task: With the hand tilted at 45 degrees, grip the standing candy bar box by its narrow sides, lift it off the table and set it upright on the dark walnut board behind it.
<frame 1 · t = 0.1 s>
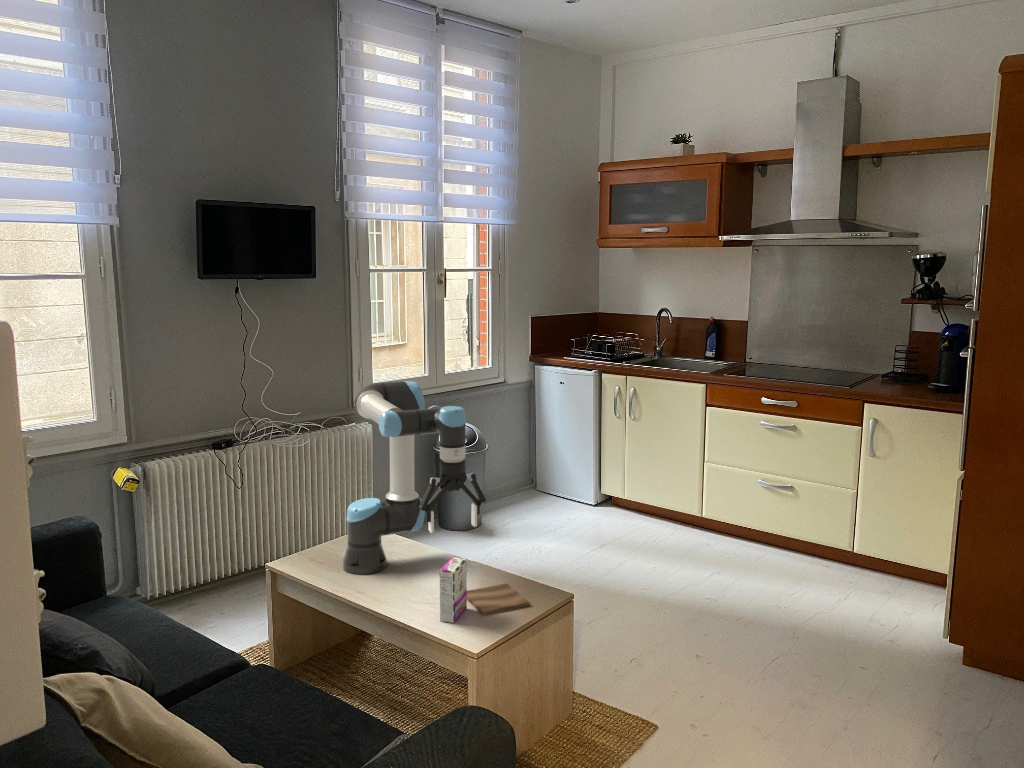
hand: (452, 528, 234), 28 cm above the table, tool pointing down, fingers open, 13 cm apart
walnut board: (495, 600, 250), on the table
candy bar box: (453, 615, 239), on the table
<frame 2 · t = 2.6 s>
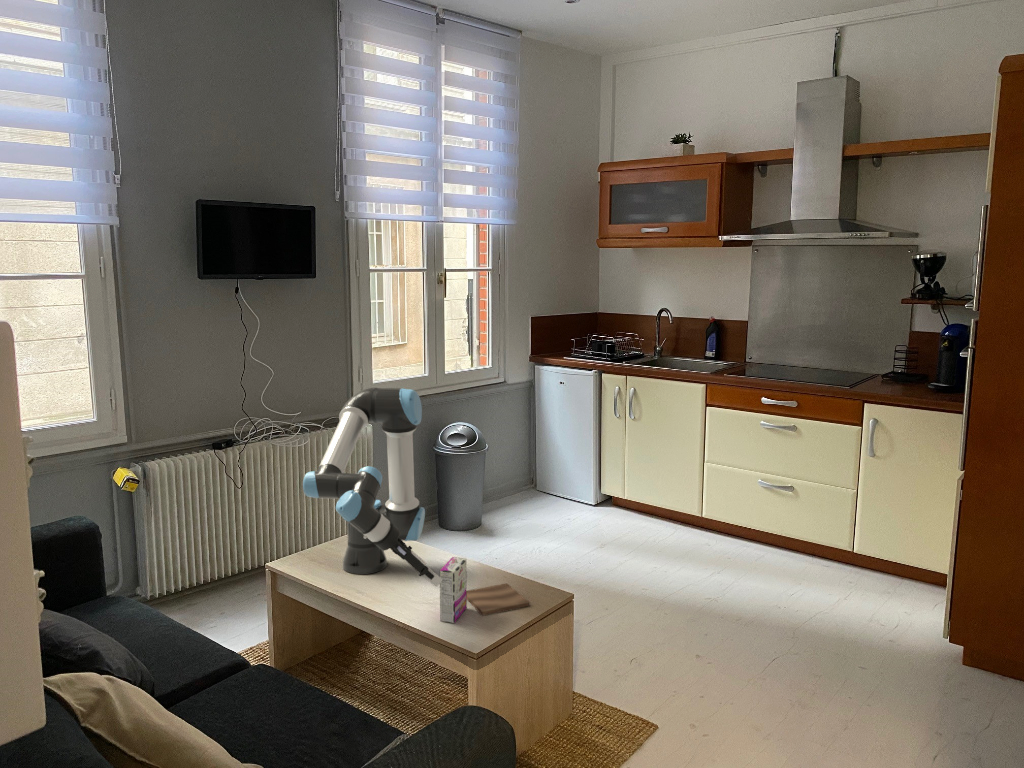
hand: (431, 574, 233), 15 cm above the table, tool tilted 45°, fingers open, 13 cm apart
nothing on the table moved.
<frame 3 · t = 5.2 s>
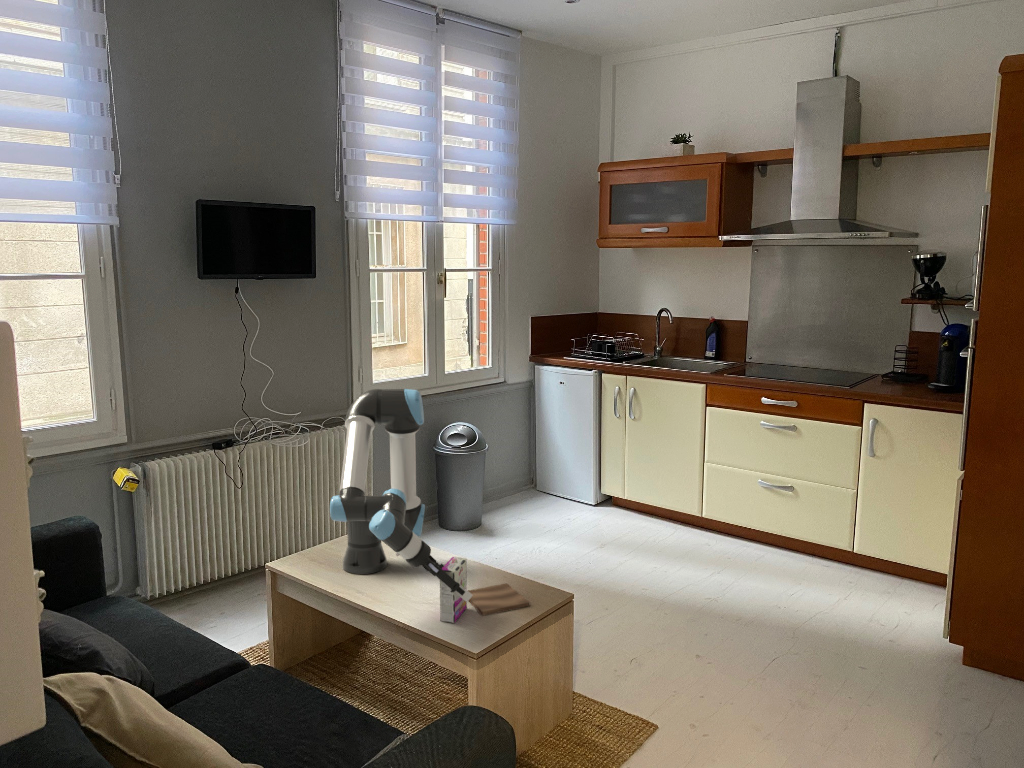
hand: (461, 590, 239), 7 cm above the table, tool tilted 45°, fingers closed on candy bar box, 11 cm apart
candy bar box: (453, 615, 239), on the table, touching gripper
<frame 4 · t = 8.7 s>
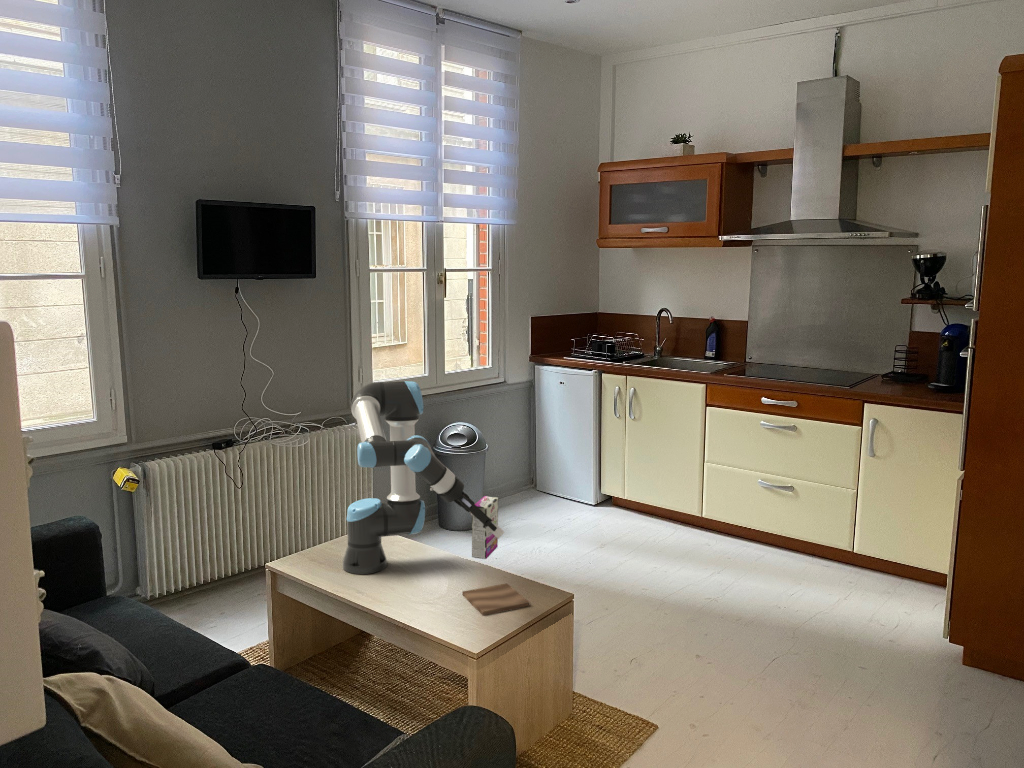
hand: (493, 528, 243), 25 cm above the table, tool tilted 45°, fingers closed on candy bar box, 11 cm apart
candy bar box: (484, 553, 243), point 17 cm above the table, touching gripper
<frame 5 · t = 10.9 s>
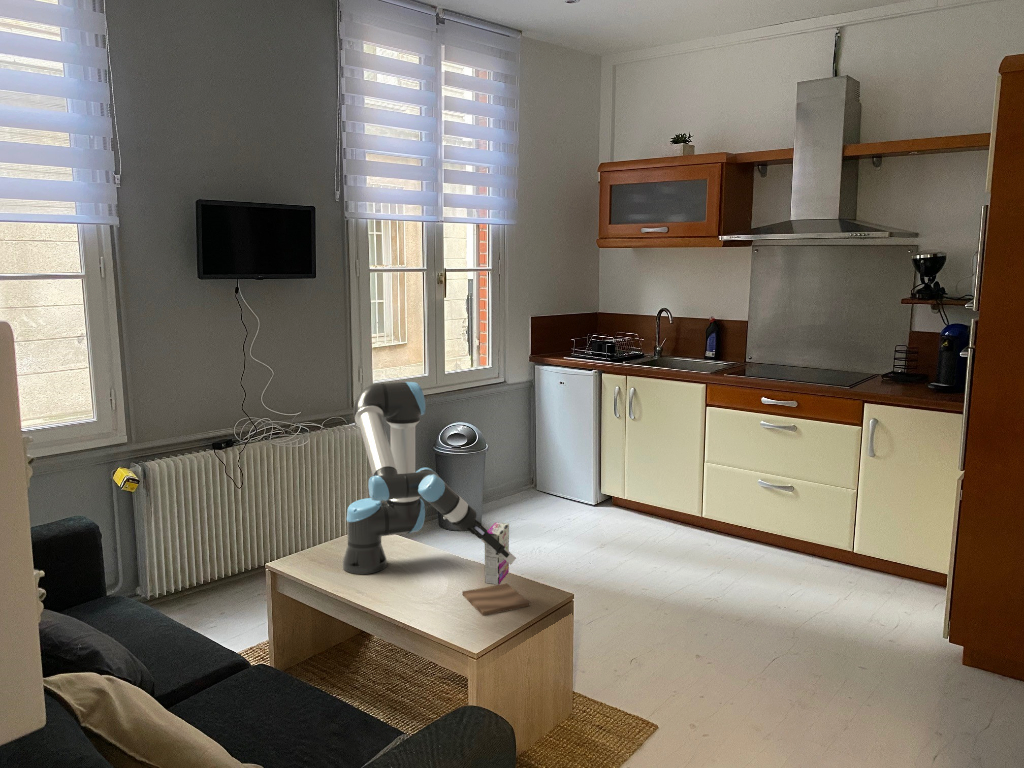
hand: (504, 554, 248), 15 cm above the table, tool tilted 45°, fingers closed on candy bar box, 11 cm apart
candy bar box: (496, 578, 248), point 8 cm above the table, touching gripper
when the fingers open (10 cm above the table, at t = 12.6 s): candy bar box drops 1 cm, resting on walnut board.
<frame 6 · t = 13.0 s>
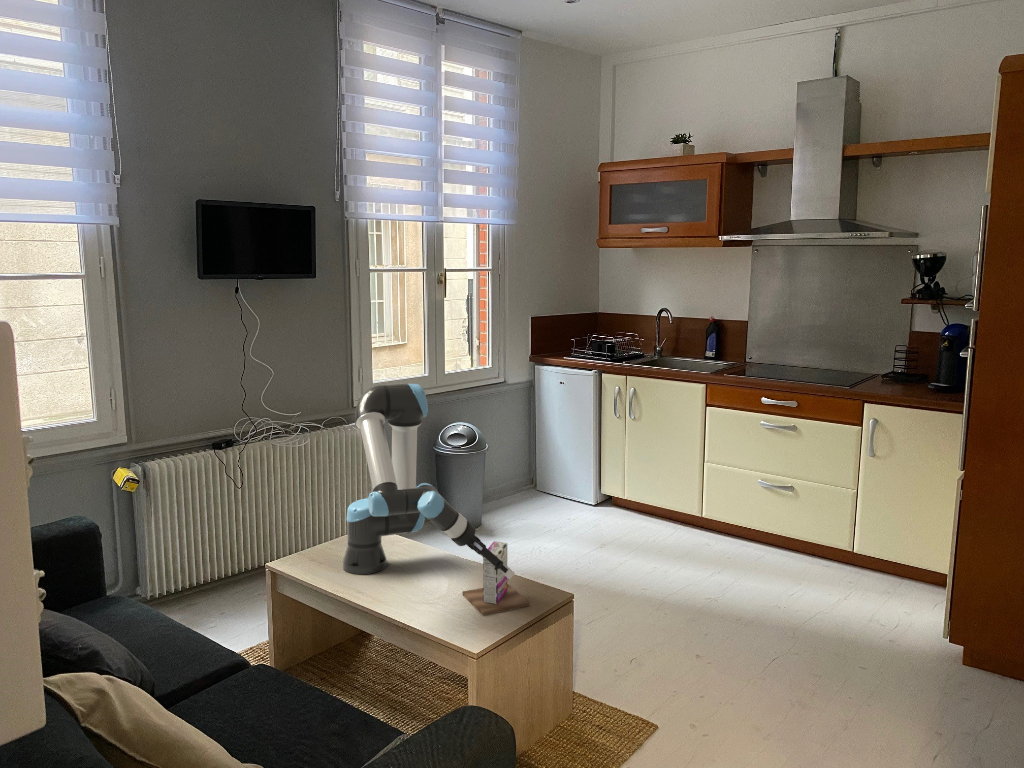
hand: (502, 568, 249), 10 cm above the table, tool tilted 45°, fingers open, 13 cm apart
candy bar box: (495, 597, 250), point 1 cm above the table, touching walnut board
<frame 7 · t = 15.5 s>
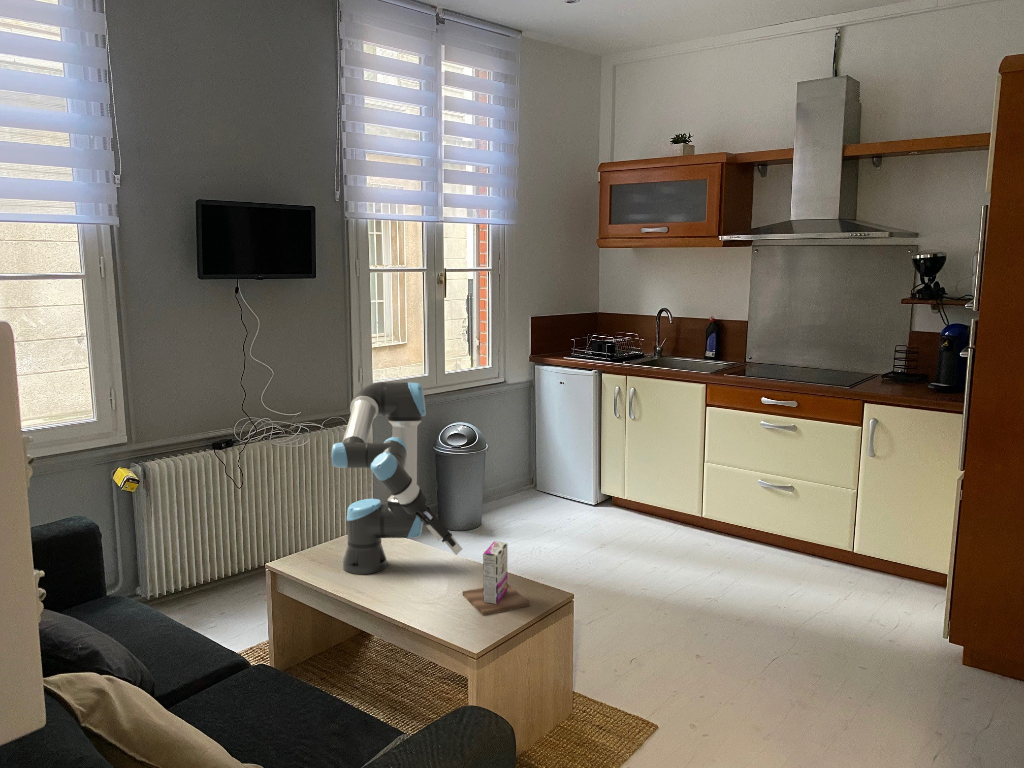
hand: (450, 544, 242), 20 cm above the table, tool tilted 35°, fingers open, 13 cm apart
nothing on the table moved.
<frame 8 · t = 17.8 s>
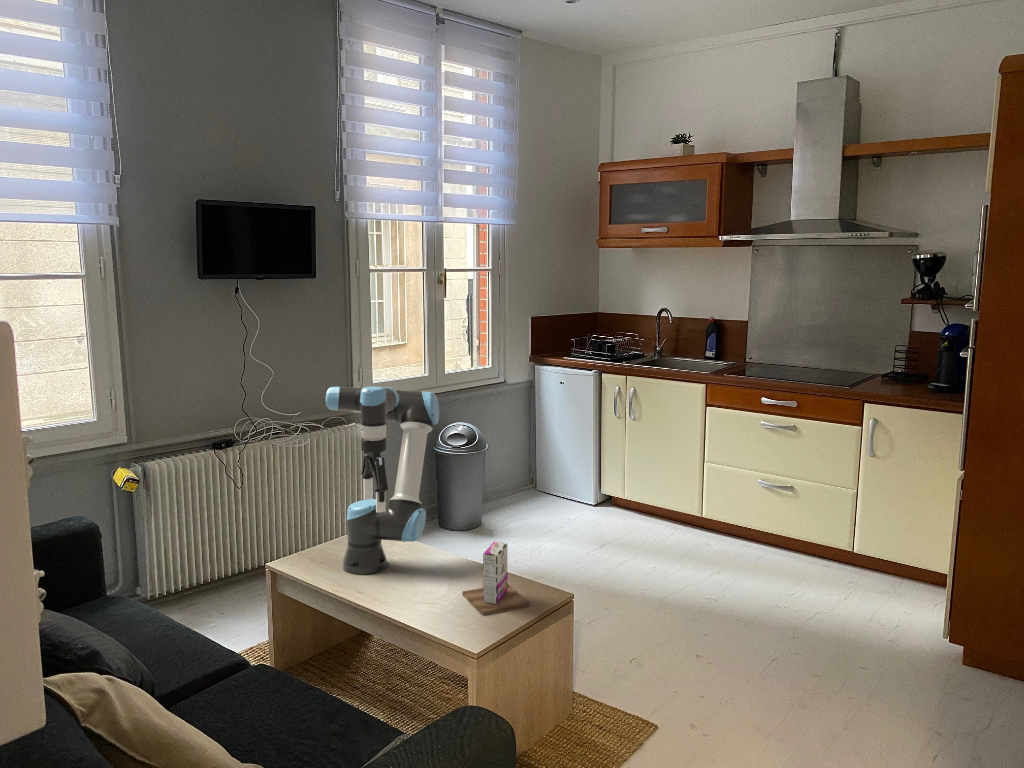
hand: (374, 505, 242), 32 cm above the table, tool pointing down, fingers open, 13 cm apart
nothing on the table moved.
at the end: candy bar box inside the target area on the walnut board (0.1 cm from its centre), point 1.0 cm above the walnut board's base; candy bar box tilted 0°; the gripper is holding nothing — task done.
